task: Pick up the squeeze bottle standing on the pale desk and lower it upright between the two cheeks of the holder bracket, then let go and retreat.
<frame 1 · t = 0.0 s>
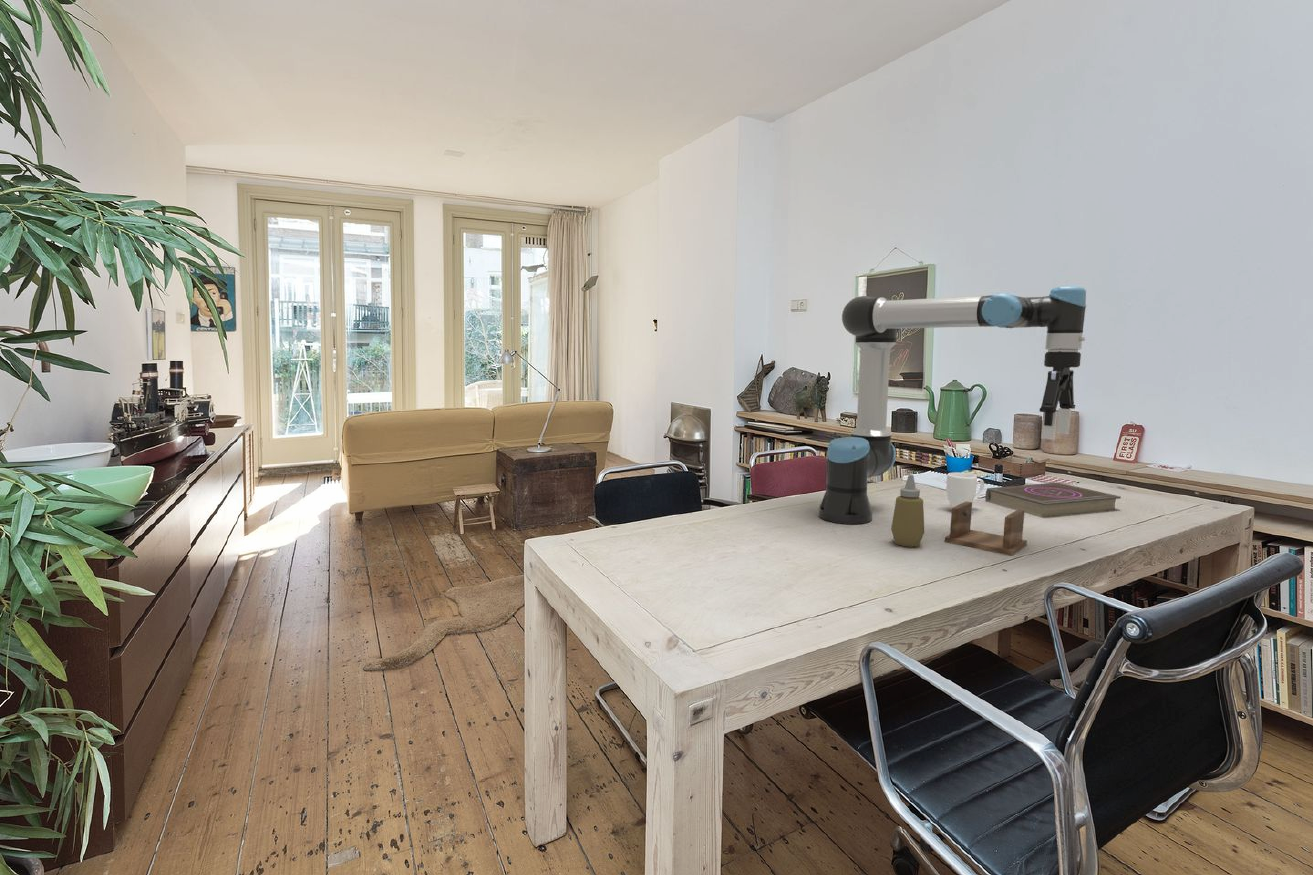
hand: (1055, 436, 160), 28 cm above the table, fingers open, 13 cm apart
book: (1049, 507, 204), on the table
squeeze bottle: (906, 544, 164), on the table
mug: (964, 511, 197), on the table
holder: (985, 543, 164), on the table
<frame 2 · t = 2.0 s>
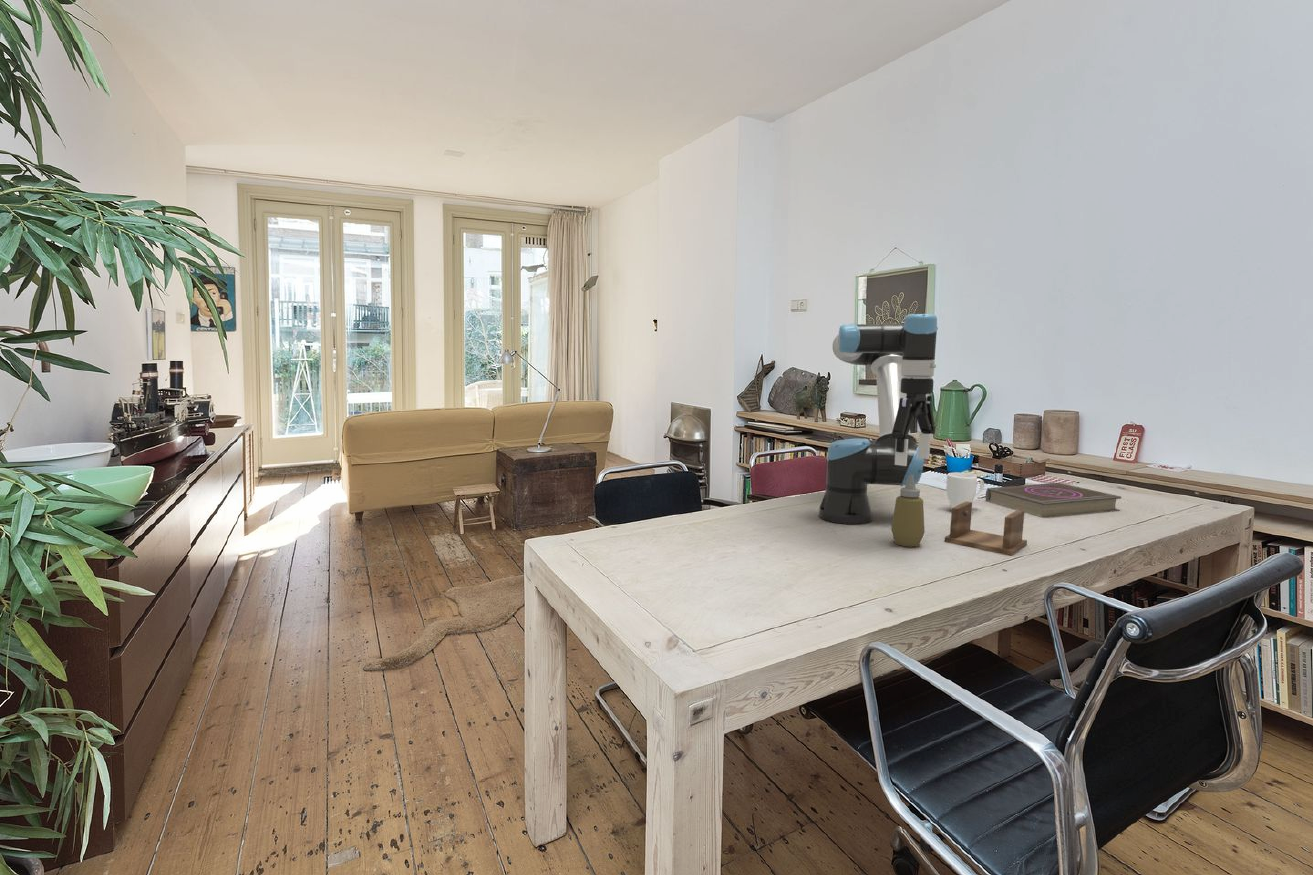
hand: (912, 461, 161), 21 cm above the table, fingers open, 13 cm apart
nothing on the table moved.
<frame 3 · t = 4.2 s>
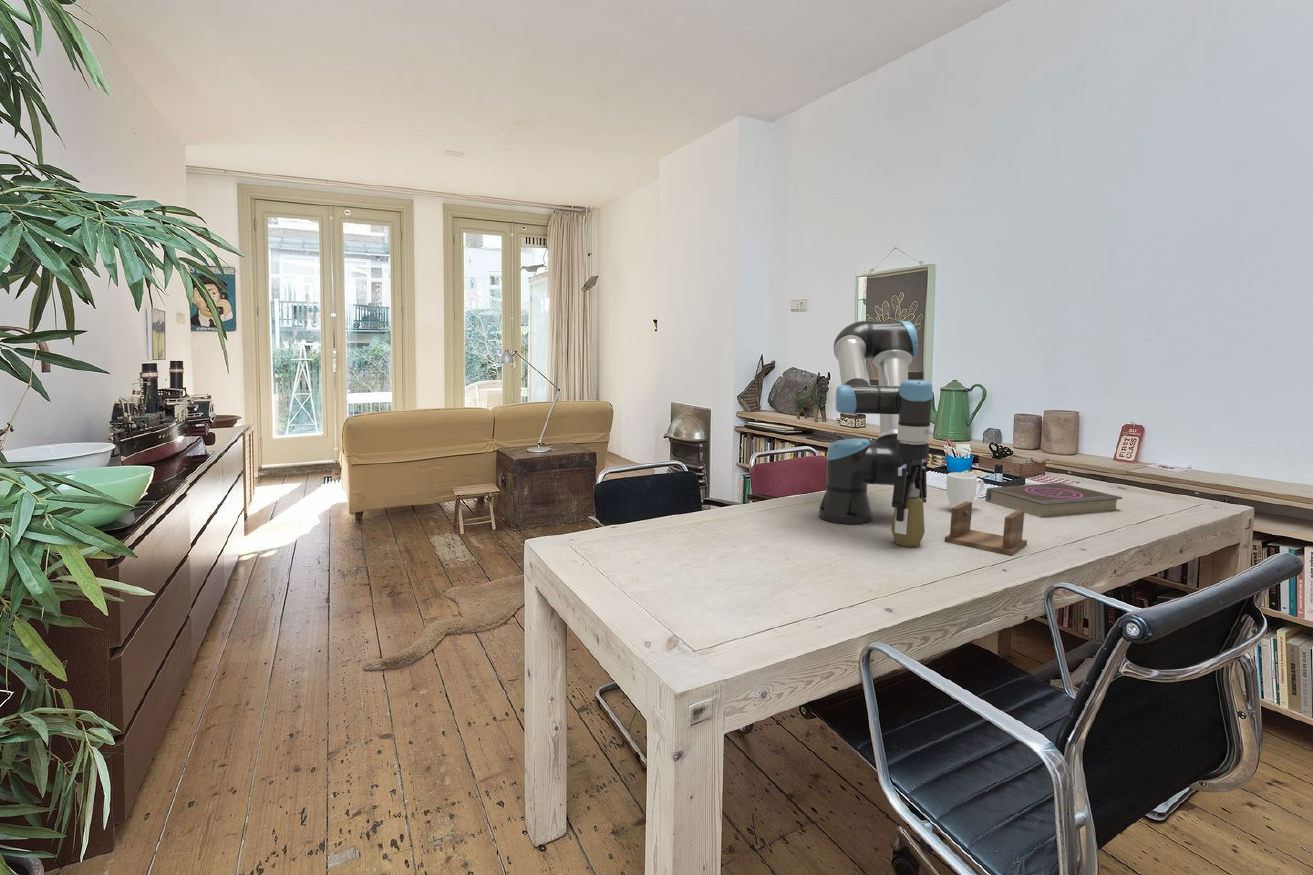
hand: (907, 529, 163), 4 cm above the table, fingers closed on squeeze bottle, 8 cm apart
squeeze bottle: (907, 544, 164), on the table, touching gripper
everything else where it was.
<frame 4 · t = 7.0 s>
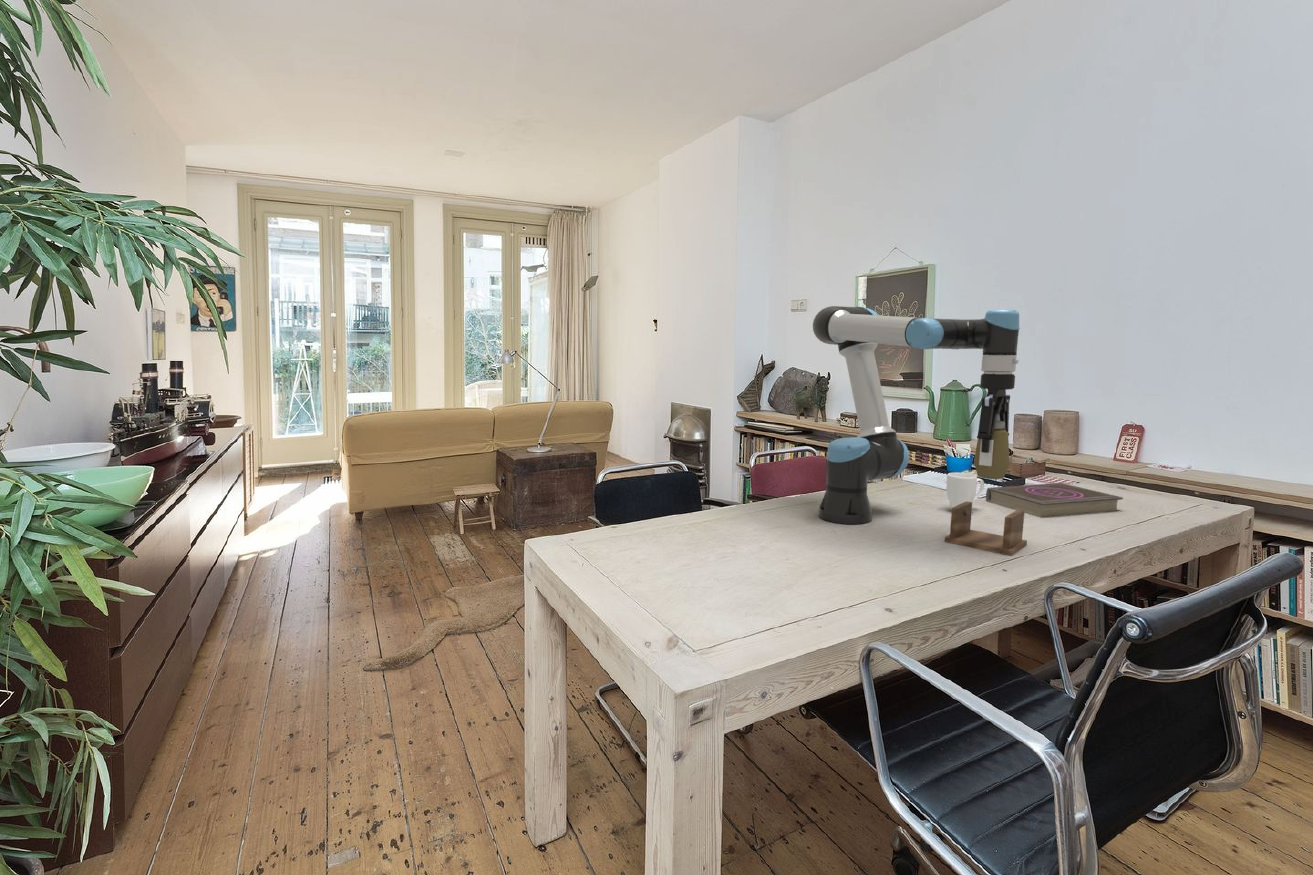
hand: (991, 463, 161), 21 cm above the table, fingers closed on squeeze bottle, 8 cm apart
squeeze bottle: (990, 478, 162), point 17 cm above the table, touching gripper
everything else where it was.
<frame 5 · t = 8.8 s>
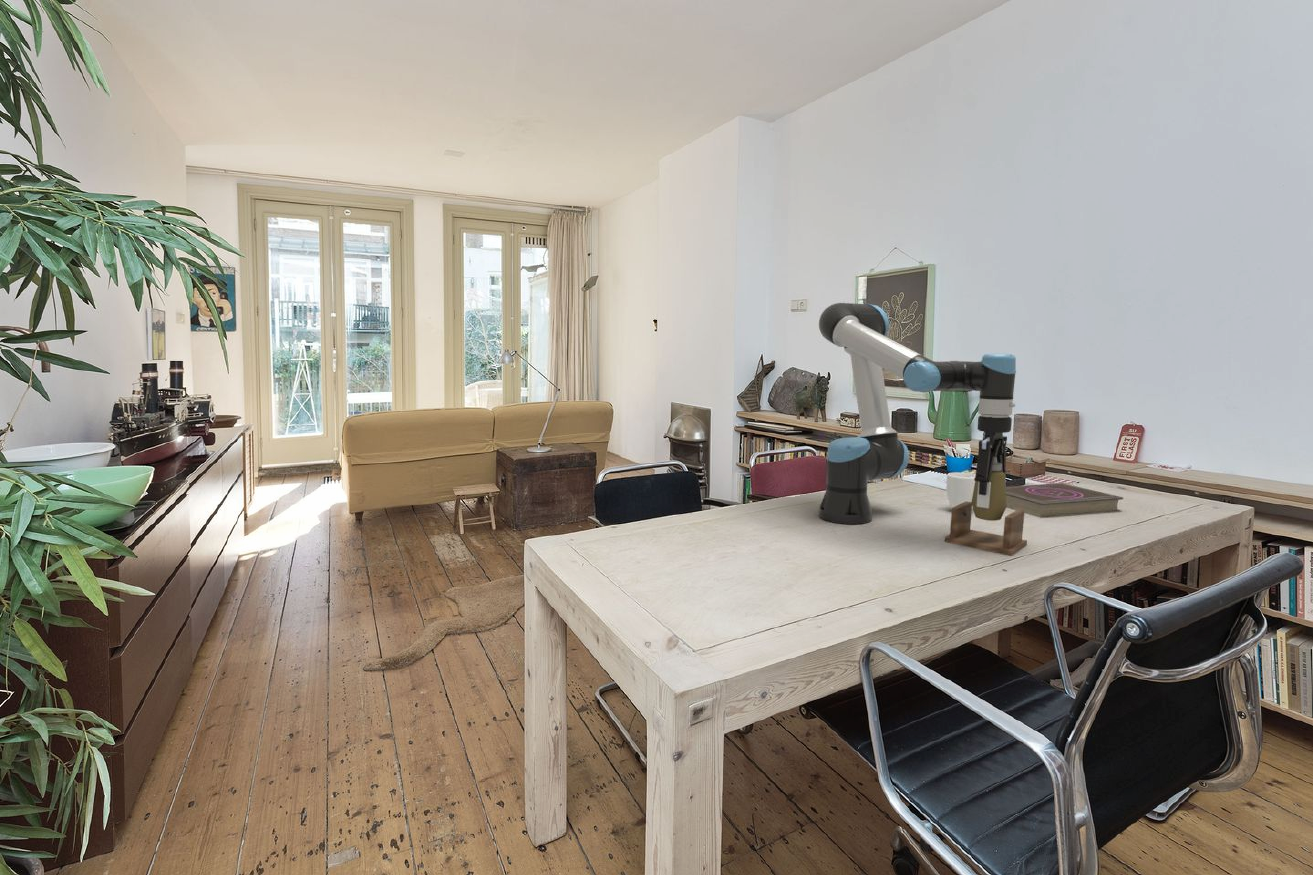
hand: (988, 504, 163), 10 cm above the table, fingers closed on squeeze bottle, 8 cm apart
squeeze bottle: (987, 519, 163), point 6 cm above the table, touching gripper
everything else where it was.
when the fingers open (6 cm above the table, at t = 10.1 s): squeeze bottle drops 1 cm, resting on holder.
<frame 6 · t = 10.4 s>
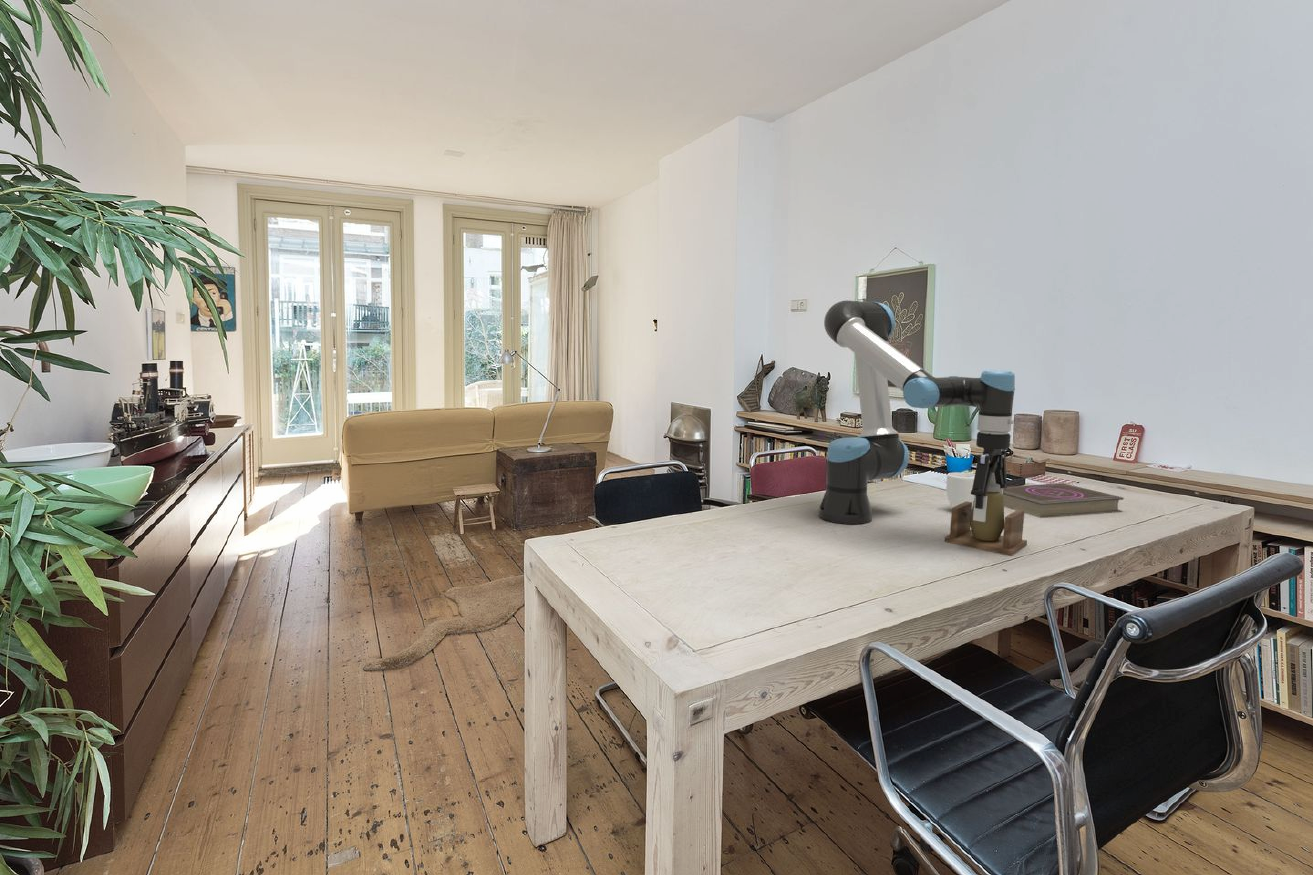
hand: (987, 516, 163), 7 cm above the table, fingers open, 11 cm apart
squeeze bottle: (985, 539, 164), point 1 cm above the table, touching holder
everything else where it was.
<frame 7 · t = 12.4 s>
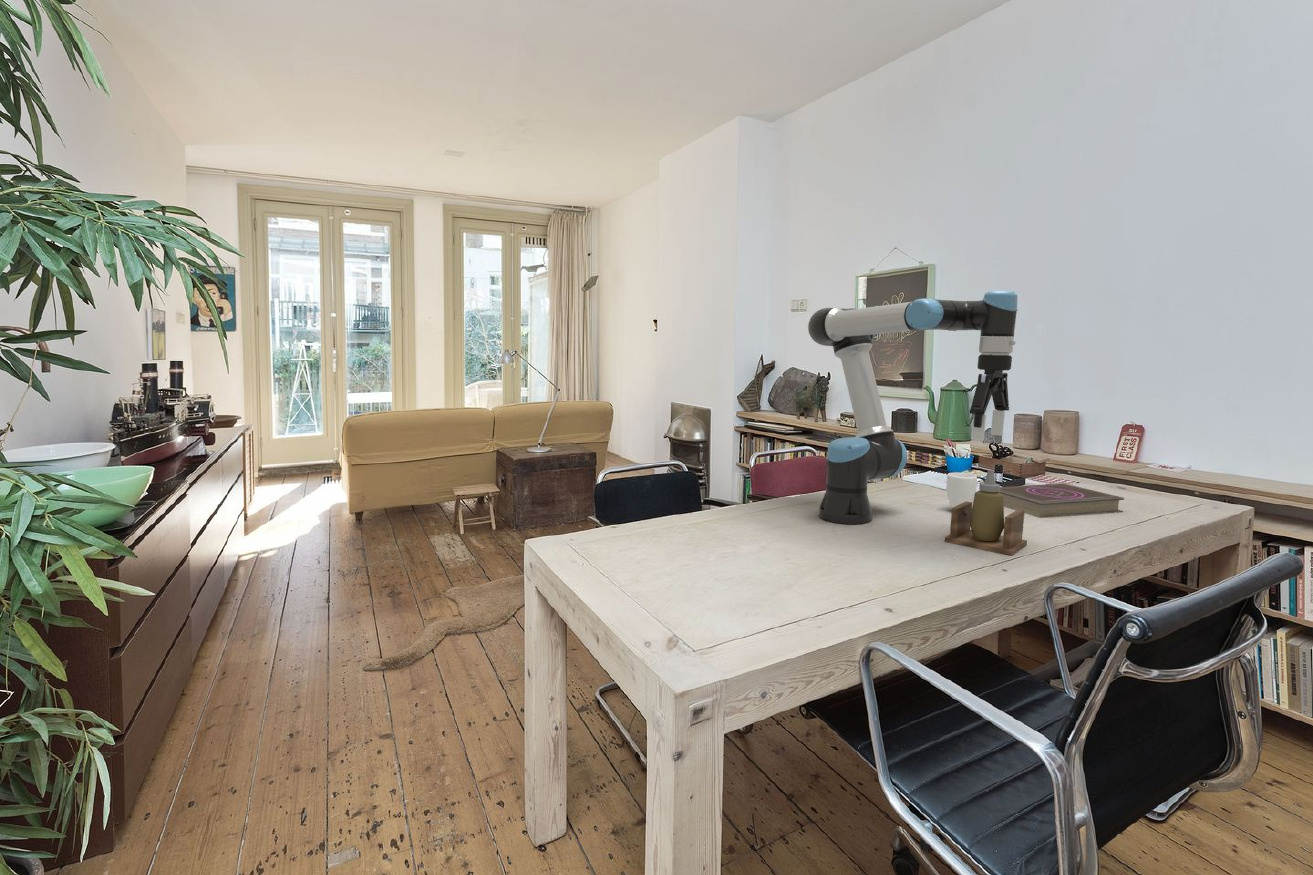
hand: (987, 437, 163), 27 cm above the table, fingers open, 13 cm apart
nothing on the table moved.
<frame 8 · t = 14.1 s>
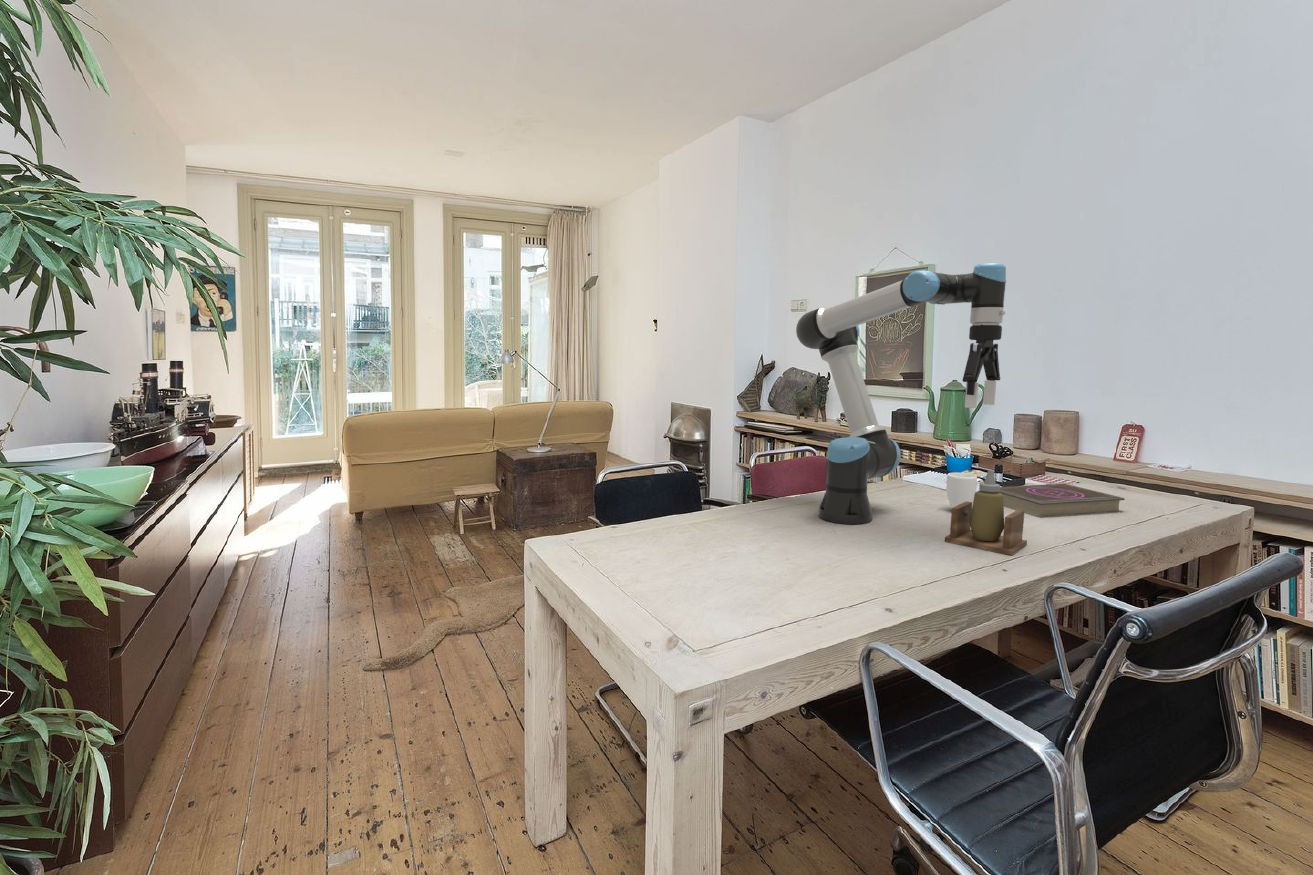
hand: (979, 406, 169), 35 cm above the table, fingers open, 13 cm apart
at the end: squeeze bottle 0.0 cm off-centre on the holder, point 1.0 cm above the holder's base; squeeze bottle tilted 0°; the gripper is holding nothing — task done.
